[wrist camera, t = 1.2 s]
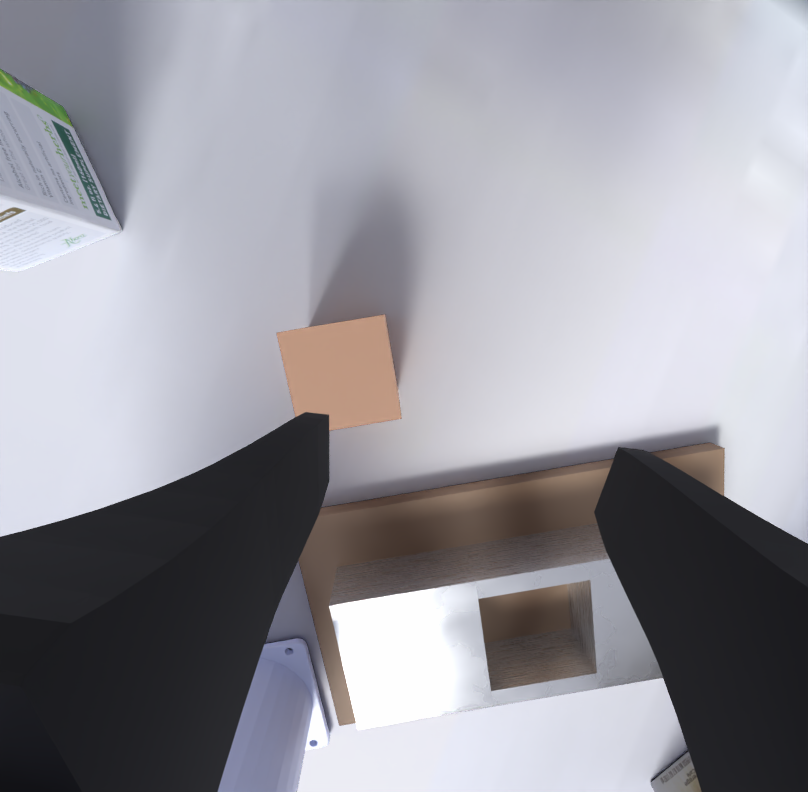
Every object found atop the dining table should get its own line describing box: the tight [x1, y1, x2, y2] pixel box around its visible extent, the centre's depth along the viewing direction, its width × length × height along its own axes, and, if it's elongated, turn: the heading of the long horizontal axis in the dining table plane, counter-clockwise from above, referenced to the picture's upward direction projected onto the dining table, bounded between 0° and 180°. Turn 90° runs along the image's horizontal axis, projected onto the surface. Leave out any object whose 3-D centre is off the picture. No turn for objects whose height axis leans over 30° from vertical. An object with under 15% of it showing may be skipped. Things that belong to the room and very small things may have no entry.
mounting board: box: [299, 443, 725, 726], centre depth 23 cm, size 24×14×1 cm, turn 99°
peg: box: [277, 314, 402, 431], centre depth 18 cm, size 4×4×6 cm
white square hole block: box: [329, 523, 663, 730], centre depth 21 cm, size 20×8×3 cm, turn 99°
